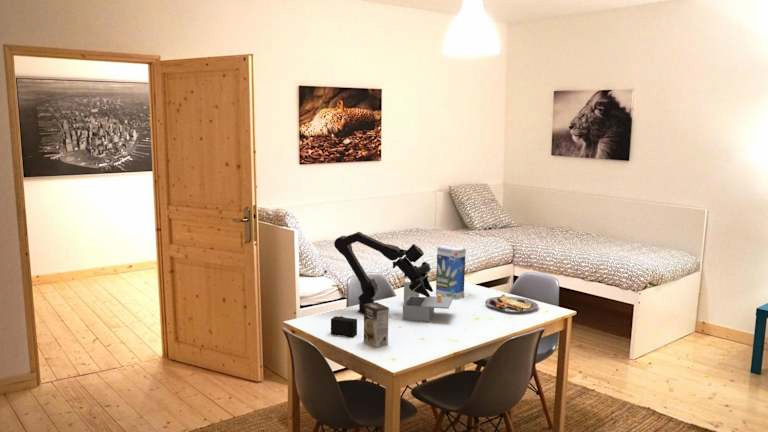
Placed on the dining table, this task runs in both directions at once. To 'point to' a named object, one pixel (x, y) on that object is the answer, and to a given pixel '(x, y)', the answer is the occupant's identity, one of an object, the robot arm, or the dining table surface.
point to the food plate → (511, 304)
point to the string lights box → (450, 271)
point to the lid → (437, 302)
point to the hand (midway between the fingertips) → (430, 293)
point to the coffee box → (376, 324)
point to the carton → (416, 310)
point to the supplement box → (408, 290)
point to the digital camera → (344, 326)
